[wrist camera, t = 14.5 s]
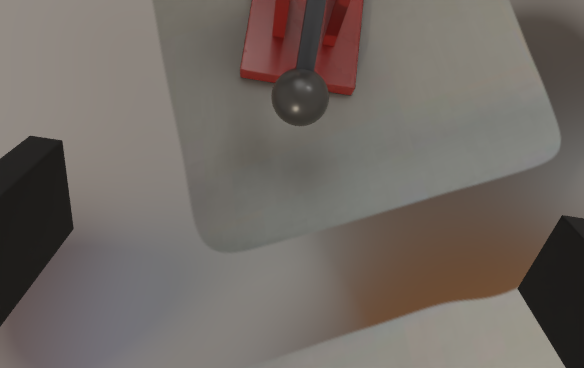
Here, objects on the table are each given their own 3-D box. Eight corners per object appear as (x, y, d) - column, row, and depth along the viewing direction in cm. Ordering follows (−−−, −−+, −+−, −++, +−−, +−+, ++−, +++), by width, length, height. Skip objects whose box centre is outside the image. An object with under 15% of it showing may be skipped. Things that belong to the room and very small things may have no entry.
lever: (320, 125, 29) (326, 134, 25) (268, 117, 29) (266, 125, 25) (363, -111, 25) (376, -139, 22) (303, -123, 25) (307, -153, 21)
